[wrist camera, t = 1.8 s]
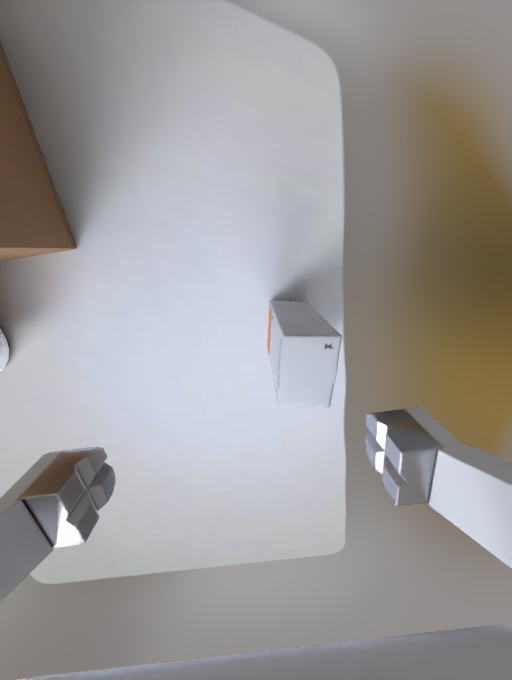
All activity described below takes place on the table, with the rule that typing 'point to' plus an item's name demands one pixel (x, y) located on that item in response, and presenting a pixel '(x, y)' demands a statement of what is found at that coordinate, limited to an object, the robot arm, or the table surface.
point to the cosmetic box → (302, 354)
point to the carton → (25, 183)
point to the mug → (3, 351)
